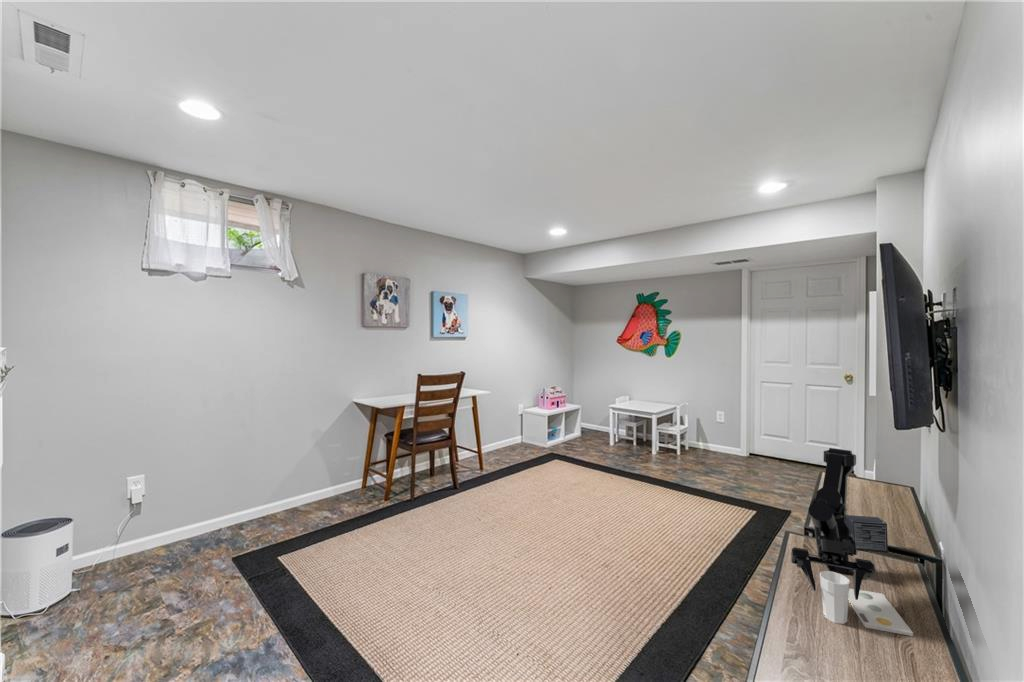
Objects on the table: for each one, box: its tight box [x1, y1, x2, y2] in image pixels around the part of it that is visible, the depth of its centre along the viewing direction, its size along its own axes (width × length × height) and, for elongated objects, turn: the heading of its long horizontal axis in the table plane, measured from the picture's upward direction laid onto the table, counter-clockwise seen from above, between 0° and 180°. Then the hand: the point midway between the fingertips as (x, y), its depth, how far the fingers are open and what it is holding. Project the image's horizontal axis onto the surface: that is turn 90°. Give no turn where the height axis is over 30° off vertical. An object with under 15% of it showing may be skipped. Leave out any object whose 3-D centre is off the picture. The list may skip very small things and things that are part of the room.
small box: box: [845, 514, 889, 554], centre depth 155 cm, size 11×6×10 cm, turn 74°
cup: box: [819, 570, 851, 625], centre depth 117 cm, size 7×7×11 cm
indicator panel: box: [848, 588, 914, 637], centre depth 120 cm, size 18×10×1 cm, turn 158°
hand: (835, 594), depth 116 cm, fingers open, 9 cm apart
